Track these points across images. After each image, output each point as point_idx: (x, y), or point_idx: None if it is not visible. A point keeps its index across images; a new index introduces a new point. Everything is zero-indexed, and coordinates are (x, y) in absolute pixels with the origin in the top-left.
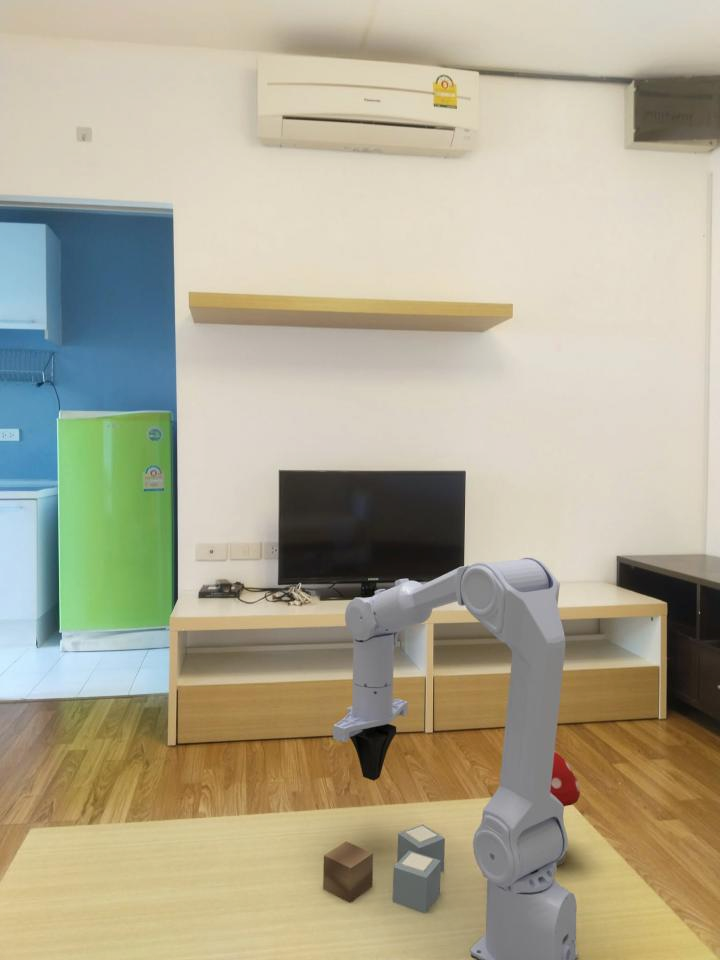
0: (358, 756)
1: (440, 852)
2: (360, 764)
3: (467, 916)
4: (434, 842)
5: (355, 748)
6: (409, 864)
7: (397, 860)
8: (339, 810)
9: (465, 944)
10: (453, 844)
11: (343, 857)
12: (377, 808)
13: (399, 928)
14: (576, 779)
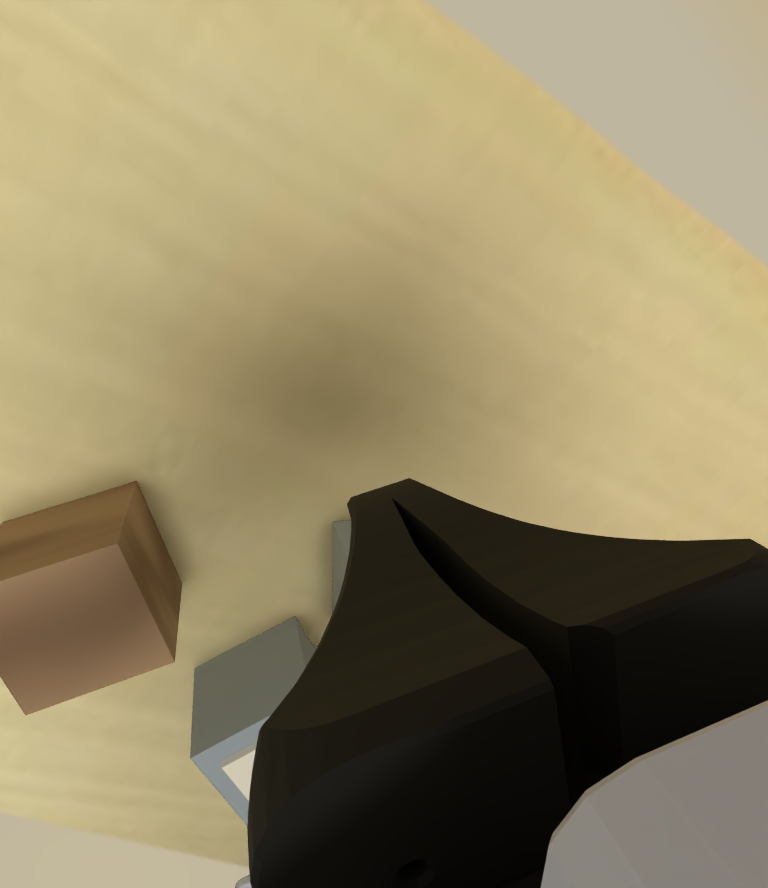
0: (345, 574)
1: None
2: (351, 534)
3: None
4: None
5: (332, 615)
6: (243, 780)
7: (336, 530)
8: (409, 7)
9: None
10: (560, 507)
11: (34, 644)
12: (554, 126)
13: (138, 763)
14: None
